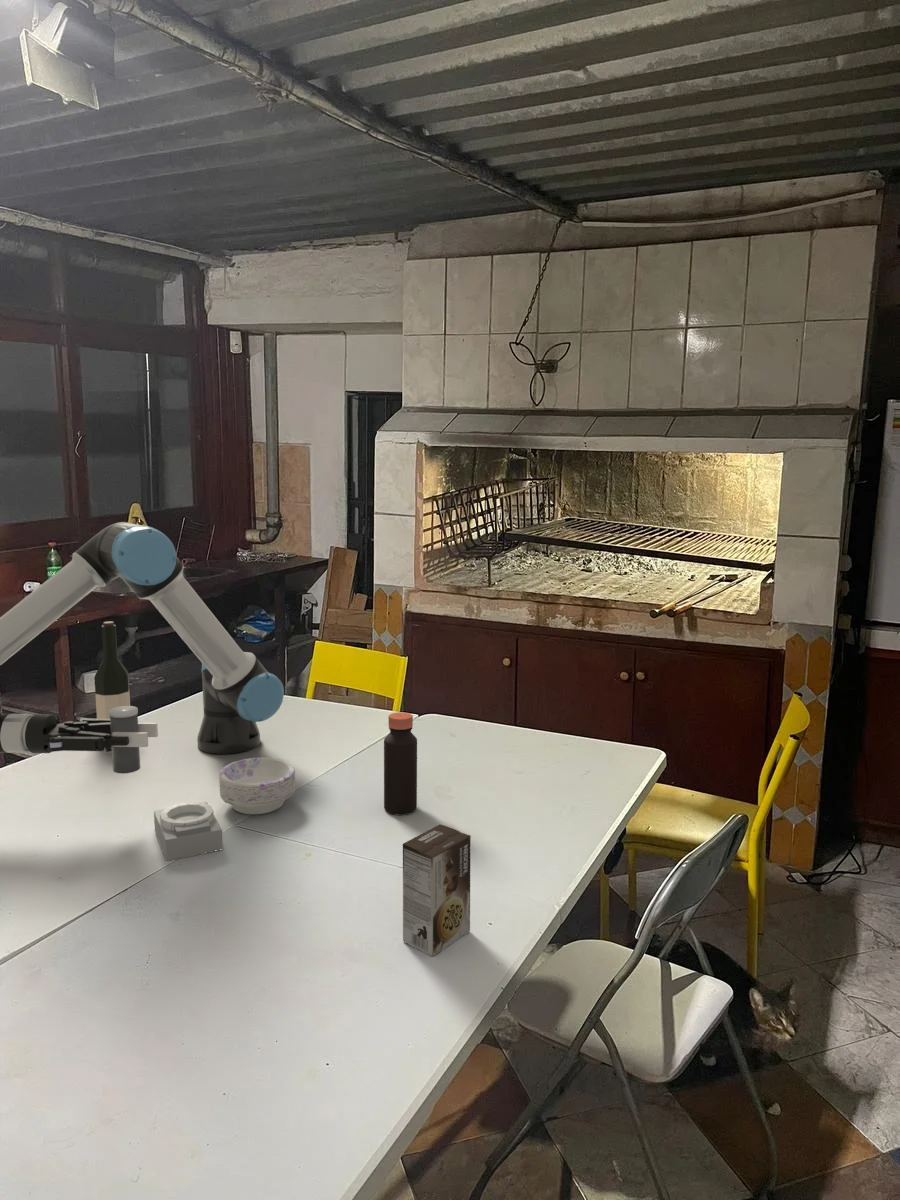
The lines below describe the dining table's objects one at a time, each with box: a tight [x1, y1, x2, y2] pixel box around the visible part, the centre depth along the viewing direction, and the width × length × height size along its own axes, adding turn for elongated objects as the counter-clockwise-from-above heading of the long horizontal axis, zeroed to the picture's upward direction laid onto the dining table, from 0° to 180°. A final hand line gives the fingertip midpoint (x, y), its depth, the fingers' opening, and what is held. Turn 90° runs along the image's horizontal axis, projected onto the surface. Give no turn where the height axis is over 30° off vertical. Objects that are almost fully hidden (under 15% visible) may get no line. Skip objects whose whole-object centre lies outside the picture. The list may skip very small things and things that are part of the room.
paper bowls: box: [218, 756, 296, 816], centre depth 180 cm, size 15×15×8 cm
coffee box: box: [402, 823, 472, 957], centre depth 132 cm, size 9×6×16 cm
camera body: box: [153, 801, 224, 861], centre depth 165 cm, size 10×14×6 cm
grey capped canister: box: [109, 705, 141, 775], centre depth 170 cm, size 5×5×12 cm
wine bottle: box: [94, 620, 131, 719], centre depth 218 cm, size 8×8×30 cm
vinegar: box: [383, 711, 418, 816], centre depth 178 cm, size 7×7×20 cm
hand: (151, 734), depth 170 cm, fingers closed on grey capped canister, 5 cm apart
